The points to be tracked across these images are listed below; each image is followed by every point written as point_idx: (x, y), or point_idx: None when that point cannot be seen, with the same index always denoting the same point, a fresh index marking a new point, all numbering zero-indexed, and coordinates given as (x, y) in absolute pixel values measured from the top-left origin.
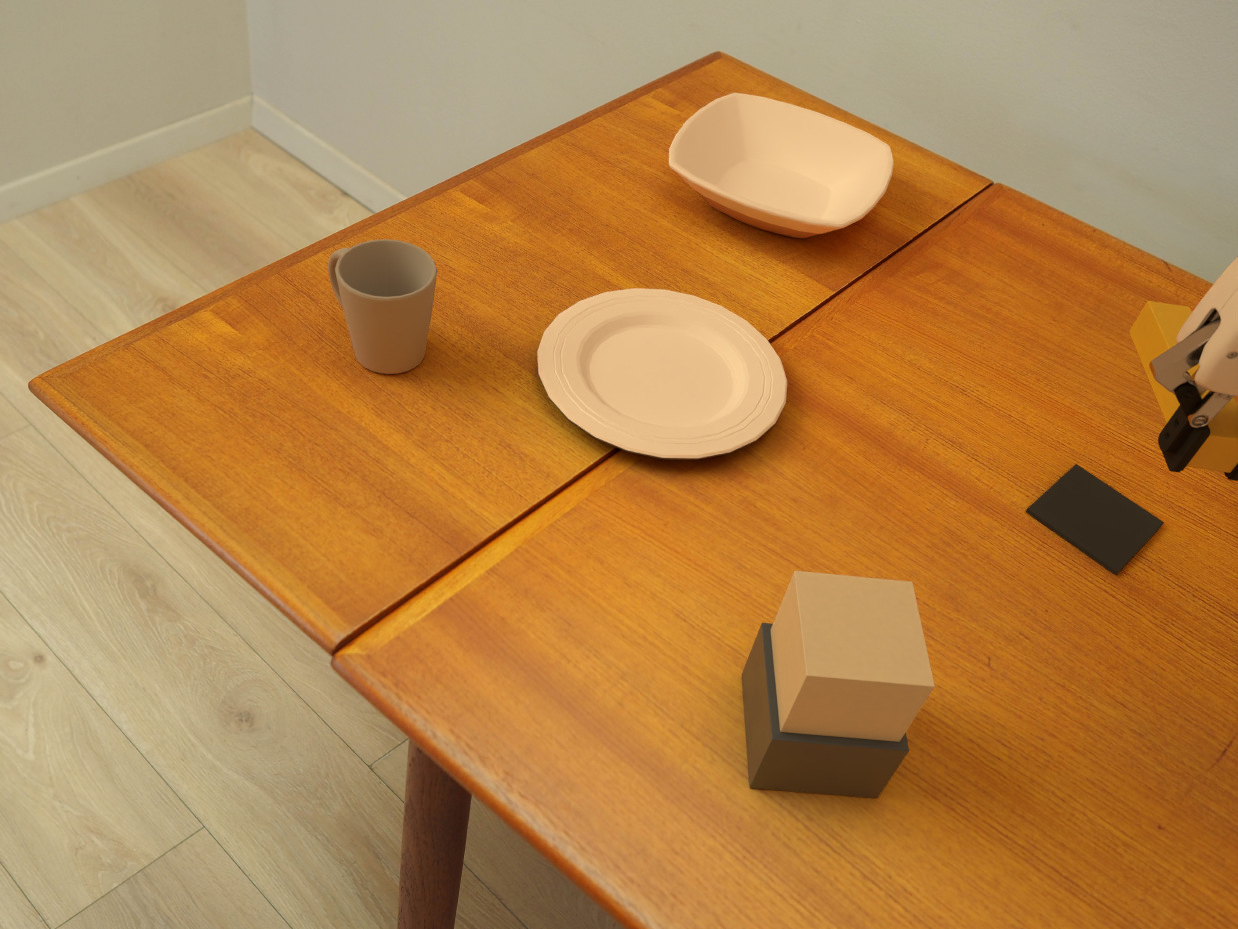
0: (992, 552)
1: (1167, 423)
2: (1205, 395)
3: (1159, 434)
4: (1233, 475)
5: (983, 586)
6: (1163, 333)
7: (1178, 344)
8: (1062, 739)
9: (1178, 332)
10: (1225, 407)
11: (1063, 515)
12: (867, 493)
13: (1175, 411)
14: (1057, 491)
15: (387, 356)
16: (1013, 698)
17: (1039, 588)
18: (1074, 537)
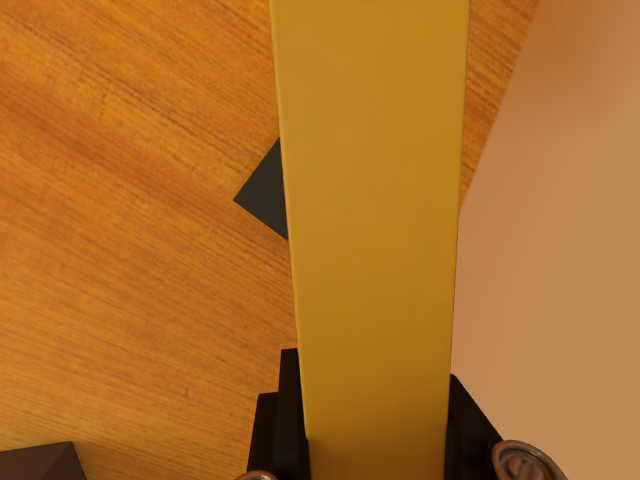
0: (192, 269)
1: (253, 427)
2: (356, 389)
3: (258, 396)
4: None
5: (182, 315)
6: (277, 65)
7: None
8: (246, 442)
9: (352, 36)
10: (403, 426)
11: (276, 201)
12: (37, 218)
13: (248, 462)
14: (274, 161)
15: None
16: (207, 419)
17: (241, 303)
18: (285, 231)
